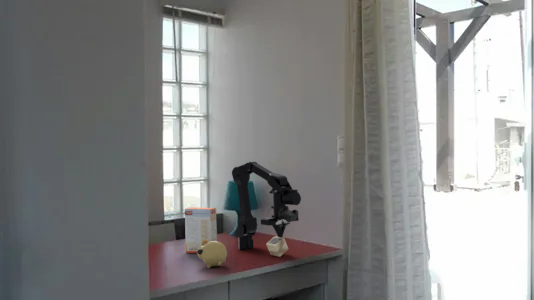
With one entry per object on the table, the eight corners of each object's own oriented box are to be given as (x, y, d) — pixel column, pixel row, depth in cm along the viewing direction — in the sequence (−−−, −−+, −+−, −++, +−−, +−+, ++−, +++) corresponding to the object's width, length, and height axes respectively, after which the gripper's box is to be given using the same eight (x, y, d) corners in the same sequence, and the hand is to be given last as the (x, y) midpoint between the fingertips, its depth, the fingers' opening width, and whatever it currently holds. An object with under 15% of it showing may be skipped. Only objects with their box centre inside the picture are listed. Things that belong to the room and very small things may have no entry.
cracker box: (217, 252, 234) (216, 207, 234) (211, 255, 229) (210, 209, 229) (192, 250, 240) (191, 206, 240) (185, 252, 235) (184, 208, 235)
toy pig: (203, 263, 213) (203, 238, 213) (230, 264, 210) (229, 239, 210) (194, 268, 204) (193, 242, 204) (221, 270, 200) (221, 243, 200)
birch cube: (280, 257, 220) (275, 245, 218) (270, 255, 224) (265, 243, 223) (288, 249, 224) (283, 237, 222) (279, 247, 228) (274, 235, 226)
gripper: (277, 207, 212) (278, 244, 212) (307, 203, 225) (307, 237, 225) (259, 205, 220) (260, 241, 220) (289, 201, 233) (290, 234, 233)
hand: (280, 238), depth 224 cm, fingers closed
